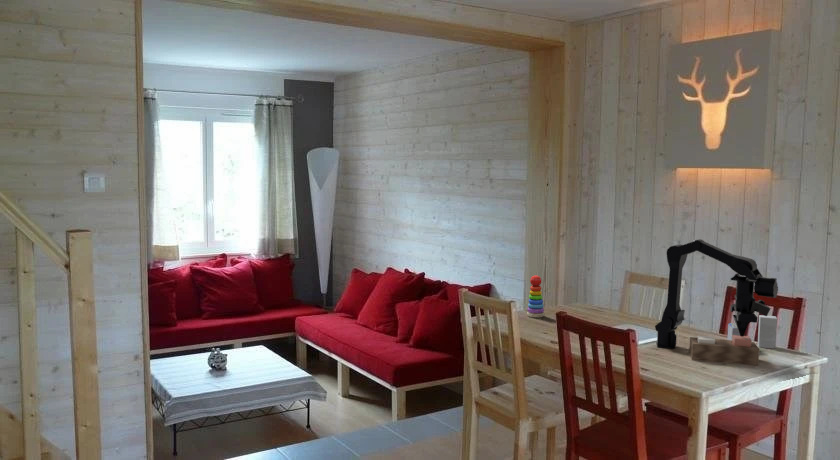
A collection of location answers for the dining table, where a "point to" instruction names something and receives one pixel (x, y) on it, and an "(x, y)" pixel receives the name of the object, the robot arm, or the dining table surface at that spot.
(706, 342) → the ivory key
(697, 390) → the dining table surface
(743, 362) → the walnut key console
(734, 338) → the brick-red key
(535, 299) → the stacking toy
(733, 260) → the robot arm
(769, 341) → the skincare box
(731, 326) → the medicine box
